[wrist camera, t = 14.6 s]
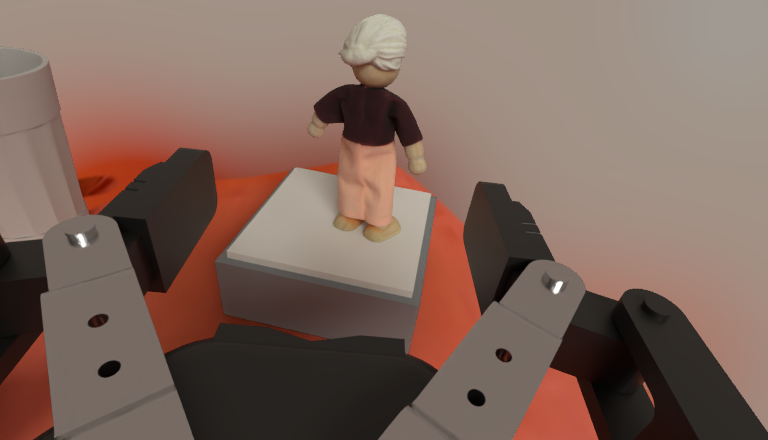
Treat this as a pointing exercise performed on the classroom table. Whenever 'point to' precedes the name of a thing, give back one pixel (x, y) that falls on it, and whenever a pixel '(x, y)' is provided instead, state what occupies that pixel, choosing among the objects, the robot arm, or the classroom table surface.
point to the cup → (33, 150)
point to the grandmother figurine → (370, 128)
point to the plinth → (327, 264)
